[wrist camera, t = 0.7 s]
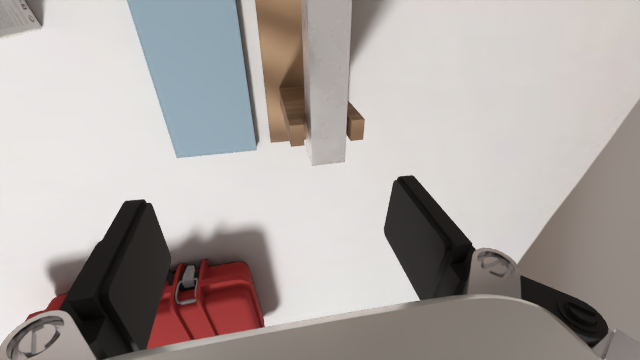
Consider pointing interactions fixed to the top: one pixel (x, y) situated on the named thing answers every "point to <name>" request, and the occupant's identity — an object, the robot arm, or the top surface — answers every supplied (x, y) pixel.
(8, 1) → the skincare box
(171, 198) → the top surface
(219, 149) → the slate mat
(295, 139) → the cradle stand
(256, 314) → the first aid kit
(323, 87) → the aluminium rail
